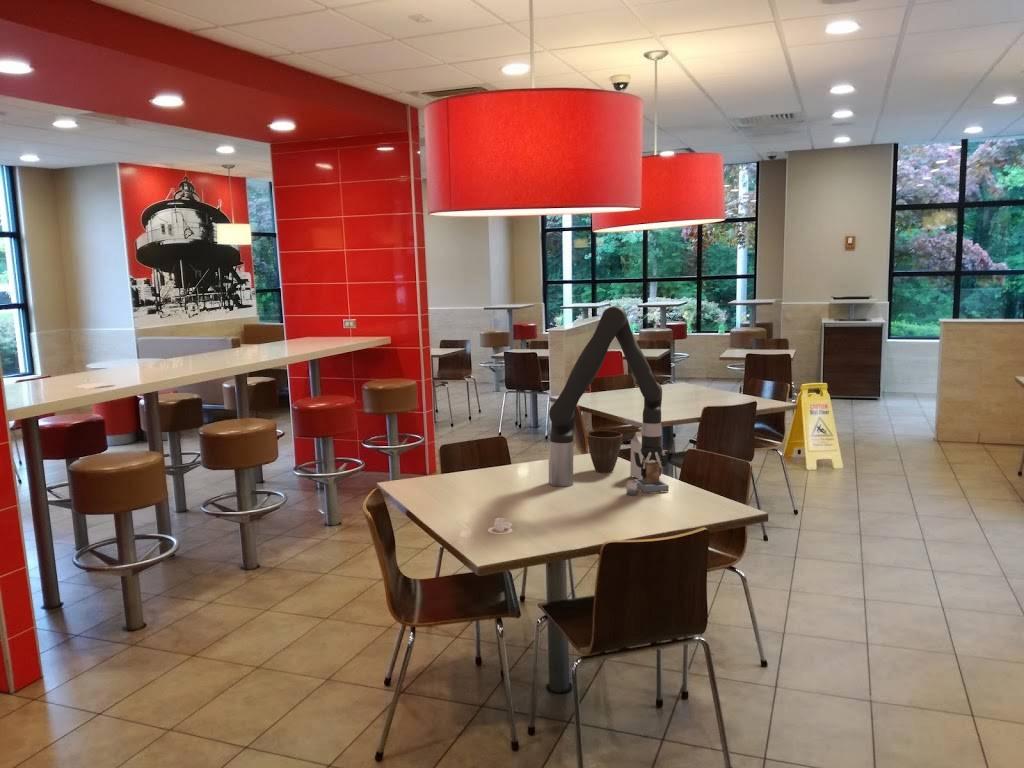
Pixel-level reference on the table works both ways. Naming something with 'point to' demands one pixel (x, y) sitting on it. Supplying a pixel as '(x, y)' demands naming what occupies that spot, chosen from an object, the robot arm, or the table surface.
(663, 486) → the slate tray
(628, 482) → the metal cylinder
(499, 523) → the teacup and saucer
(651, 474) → the walnut block
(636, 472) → the milk carton
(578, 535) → the table surface
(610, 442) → the plant pot
